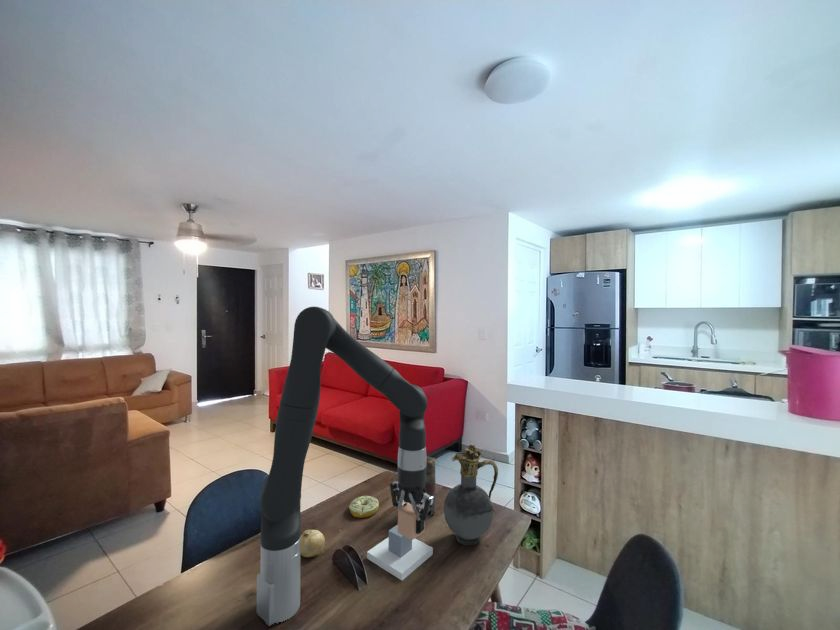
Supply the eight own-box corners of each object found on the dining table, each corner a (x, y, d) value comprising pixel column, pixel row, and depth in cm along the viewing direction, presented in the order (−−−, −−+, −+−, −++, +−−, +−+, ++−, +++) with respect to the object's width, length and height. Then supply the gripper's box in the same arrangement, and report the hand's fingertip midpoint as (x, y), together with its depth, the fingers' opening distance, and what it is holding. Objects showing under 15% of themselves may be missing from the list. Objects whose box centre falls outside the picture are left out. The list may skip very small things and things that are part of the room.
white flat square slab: (402, 580, 99) (402, 573, 99) (366, 558, 108) (367, 551, 108) (432, 554, 110) (432, 547, 110) (398, 536, 118) (398, 530, 118)
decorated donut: (343, 512, 133) (343, 502, 133) (365, 500, 141) (365, 491, 141) (362, 523, 126) (362, 512, 126) (384, 510, 134) (384, 500, 134)
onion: (312, 541, 116) (312, 519, 115) (330, 550, 111) (330, 527, 111) (291, 555, 109) (292, 532, 109) (310, 565, 105) (310, 541, 105)
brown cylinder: (412, 509, 135) (412, 455, 135) (430, 504, 138) (430, 452, 138) (421, 519, 128) (421, 463, 128) (439, 514, 131) (439, 460, 131)
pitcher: (439, 534, 119) (439, 444, 119) (487, 521, 127) (488, 436, 127) (454, 555, 109) (455, 456, 109) (506, 540, 117) (507, 447, 117)
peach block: (412, 540, 91) (412, 516, 91) (397, 532, 94) (397, 509, 94) (424, 531, 95) (424, 508, 95) (410, 523, 98) (410, 501, 98)
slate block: (400, 557, 105) (401, 537, 105) (388, 550, 108) (388, 530, 108) (411, 549, 109) (412, 529, 109) (399, 542, 112) (399, 523, 112)
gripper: (382, 460, 96) (381, 524, 96) (424, 476, 87) (423, 547, 87) (401, 452, 102) (400, 512, 102) (442, 466, 92) (441, 532, 93)
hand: (411, 528), depth 94 cm, fingers closed on peach block, 5 cm apart
